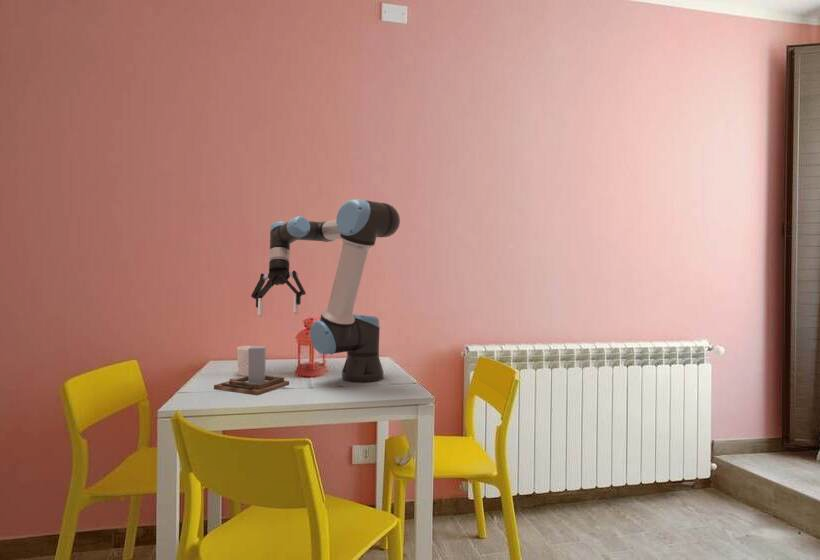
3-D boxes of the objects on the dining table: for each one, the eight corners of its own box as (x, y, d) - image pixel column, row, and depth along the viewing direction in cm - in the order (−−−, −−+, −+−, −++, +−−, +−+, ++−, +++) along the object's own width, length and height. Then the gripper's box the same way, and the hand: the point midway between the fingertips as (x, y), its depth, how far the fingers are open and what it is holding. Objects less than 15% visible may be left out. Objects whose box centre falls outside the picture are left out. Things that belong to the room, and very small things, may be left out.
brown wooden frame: (289, 384, 173) (289, 376, 173) (257, 395, 158) (257, 386, 158) (247, 379, 180) (247, 371, 180) (213, 388, 166) (213, 380, 165)
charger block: (265, 381, 171) (265, 345, 171) (264, 384, 167) (264, 348, 166) (250, 381, 170) (250, 346, 170) (248, 385, 166) (248, 348, 165)
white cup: (246, 371, 194) (246, 345, 194) (263, 373, 191) (263, 346, 191) (232, 375, 187) (232, 348, 186) (250, 377, 184) (250, 349, 184)
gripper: (313, 261, 197) (313, 314, 190) (251, 267, 199) (249, 319, 192) (308, 254, 190) (307, 309, 183) (244, 260, 192) (241, 314, 185)
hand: (277, 314), depth 188 cm, fingers open, 13 cm apart
